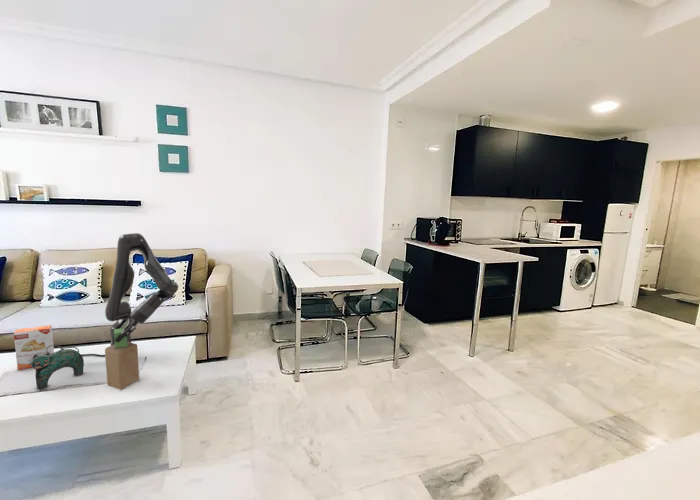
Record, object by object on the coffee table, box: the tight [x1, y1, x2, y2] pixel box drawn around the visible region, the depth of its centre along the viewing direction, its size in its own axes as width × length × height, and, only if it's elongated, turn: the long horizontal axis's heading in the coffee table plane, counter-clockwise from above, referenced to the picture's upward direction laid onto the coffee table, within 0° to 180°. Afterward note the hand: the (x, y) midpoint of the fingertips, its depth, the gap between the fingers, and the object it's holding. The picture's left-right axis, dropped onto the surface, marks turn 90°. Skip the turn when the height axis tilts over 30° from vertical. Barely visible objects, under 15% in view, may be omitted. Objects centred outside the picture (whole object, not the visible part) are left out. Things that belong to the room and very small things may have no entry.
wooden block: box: [104, 342, 140, 390], centre depth 164 cm, size 10×10×20 cm
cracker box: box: [13, 324, 55, 371], centre depth 176 cm, size 14×6×21 cm, turn 123°
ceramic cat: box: [30, 344, 85, 391], centre depth 163 cm, size 20×6×20 cm, turn 149°
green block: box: [114, 328, 128, 349], centre depth 162 cm, size 5×5×8 cm
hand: (116, 338), depth 161 cm, fingers open, 6 cm apart
